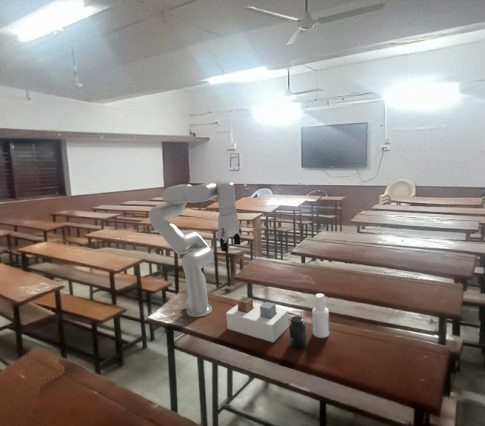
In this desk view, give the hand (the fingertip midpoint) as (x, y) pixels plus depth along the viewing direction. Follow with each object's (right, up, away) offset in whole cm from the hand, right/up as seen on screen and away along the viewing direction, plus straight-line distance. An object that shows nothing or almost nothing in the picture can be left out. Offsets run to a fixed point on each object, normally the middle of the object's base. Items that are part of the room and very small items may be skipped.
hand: (231, 247), depth 165 cm
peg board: (+12, -36, +2) cm, 38 cm away
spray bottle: (+39, -36, -7) cm, 54 cm away
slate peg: (+17, -31, -3) cm, 35 cm away
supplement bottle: (+28, -39, -14) cm, 50 cm away
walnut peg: (+7, -30, +4) cm, 31 cm away
